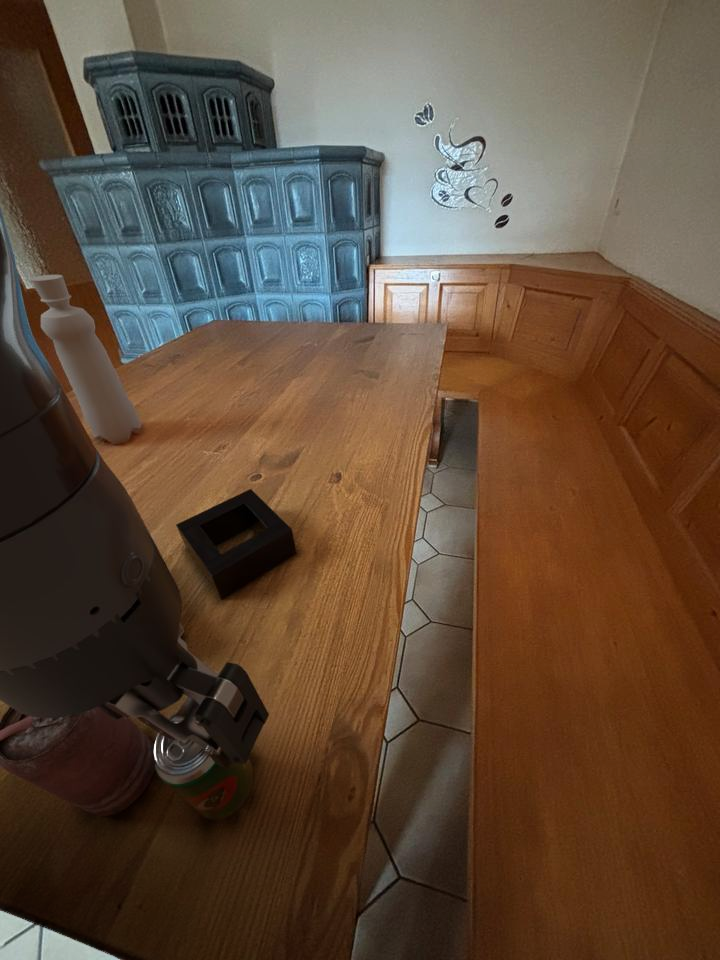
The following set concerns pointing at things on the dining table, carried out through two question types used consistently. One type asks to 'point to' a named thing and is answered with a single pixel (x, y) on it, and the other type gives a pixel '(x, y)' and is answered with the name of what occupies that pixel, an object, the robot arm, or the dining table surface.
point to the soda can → (201, 777)
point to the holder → (246, 557)
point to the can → (79, 757)
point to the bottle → (86, 364)
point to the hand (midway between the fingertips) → (178, 725)
